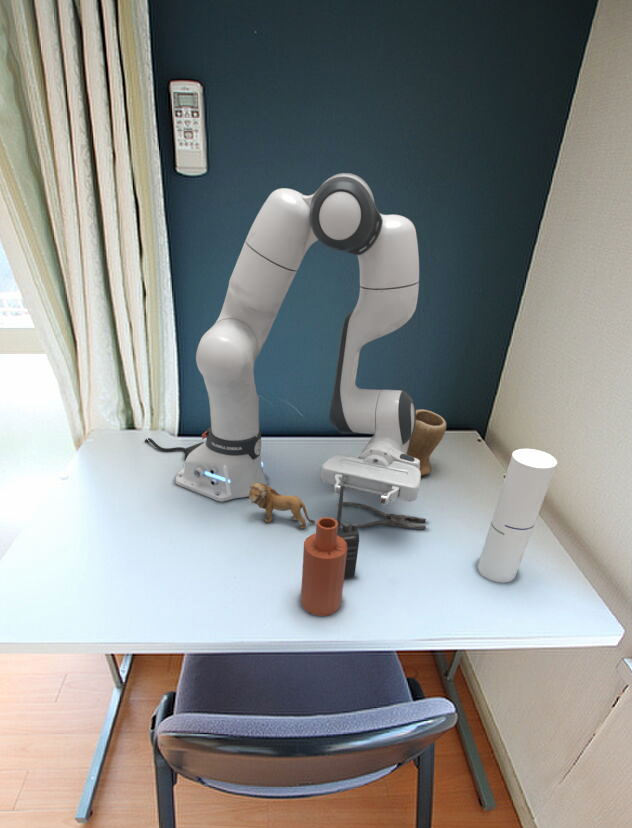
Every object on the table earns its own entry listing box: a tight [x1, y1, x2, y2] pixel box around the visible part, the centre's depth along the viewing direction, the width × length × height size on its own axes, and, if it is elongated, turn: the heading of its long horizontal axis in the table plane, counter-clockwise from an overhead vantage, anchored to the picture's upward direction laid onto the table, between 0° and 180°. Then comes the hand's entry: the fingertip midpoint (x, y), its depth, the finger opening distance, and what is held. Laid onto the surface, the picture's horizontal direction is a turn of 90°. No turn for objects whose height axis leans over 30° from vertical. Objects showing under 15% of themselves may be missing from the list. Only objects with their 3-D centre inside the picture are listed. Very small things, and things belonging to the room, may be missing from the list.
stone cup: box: [406, 408, 447, 476], centre depth 133 cm, size 15×12×15 cm
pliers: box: [341, 501, 427, 530], centre depth 116 cm, size 10×1×20 cm
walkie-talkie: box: [336, 485, 360, 579], centre depth 94 cm, size 5×3×20 cm
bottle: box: [300, 516, 347, 617], centre depth 88 cm, size 7×7×18 cm
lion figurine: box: [248, 483, 315, 530], centre depth 111 cm, size 15×5×9 cm, turn 81°
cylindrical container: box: [477, 448, 558, 584], centre depth 94 cm, size 7×7×25 cm
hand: (360, 495), depth 100 cm, fingers open, 8 cm apart
